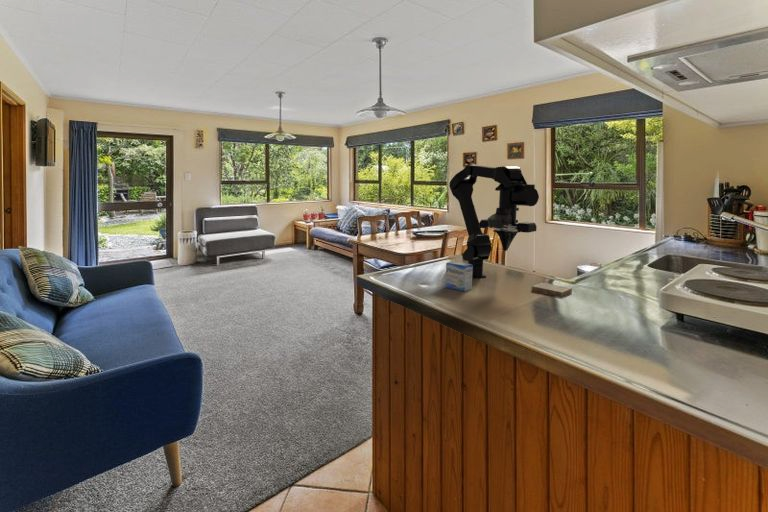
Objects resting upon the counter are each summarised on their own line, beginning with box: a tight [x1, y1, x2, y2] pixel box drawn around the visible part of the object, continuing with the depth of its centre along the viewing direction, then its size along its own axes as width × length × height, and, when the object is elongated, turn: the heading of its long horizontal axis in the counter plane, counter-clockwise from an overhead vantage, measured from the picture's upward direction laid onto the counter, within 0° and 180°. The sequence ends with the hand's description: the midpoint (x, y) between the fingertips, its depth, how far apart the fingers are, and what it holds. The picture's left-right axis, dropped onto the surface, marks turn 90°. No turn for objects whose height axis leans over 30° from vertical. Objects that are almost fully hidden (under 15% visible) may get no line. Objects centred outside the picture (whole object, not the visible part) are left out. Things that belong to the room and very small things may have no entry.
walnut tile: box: [531, 282, 573, 298], centre depth 133 cm, size 2×7×10 cm
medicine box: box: [444, 261, 473, 292], centre depth 137 cm, size 8×4×9 cm, turn 47°
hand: (505, 250), depth 140 cm, fingers closed
